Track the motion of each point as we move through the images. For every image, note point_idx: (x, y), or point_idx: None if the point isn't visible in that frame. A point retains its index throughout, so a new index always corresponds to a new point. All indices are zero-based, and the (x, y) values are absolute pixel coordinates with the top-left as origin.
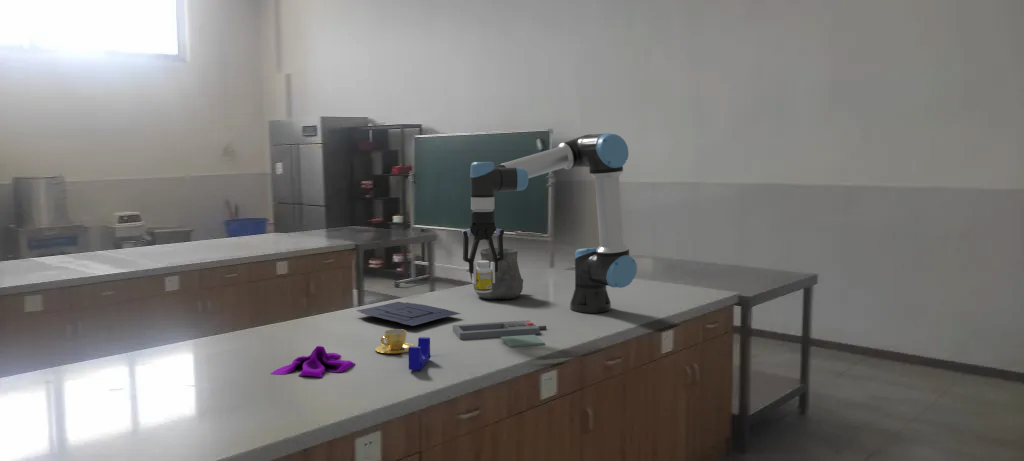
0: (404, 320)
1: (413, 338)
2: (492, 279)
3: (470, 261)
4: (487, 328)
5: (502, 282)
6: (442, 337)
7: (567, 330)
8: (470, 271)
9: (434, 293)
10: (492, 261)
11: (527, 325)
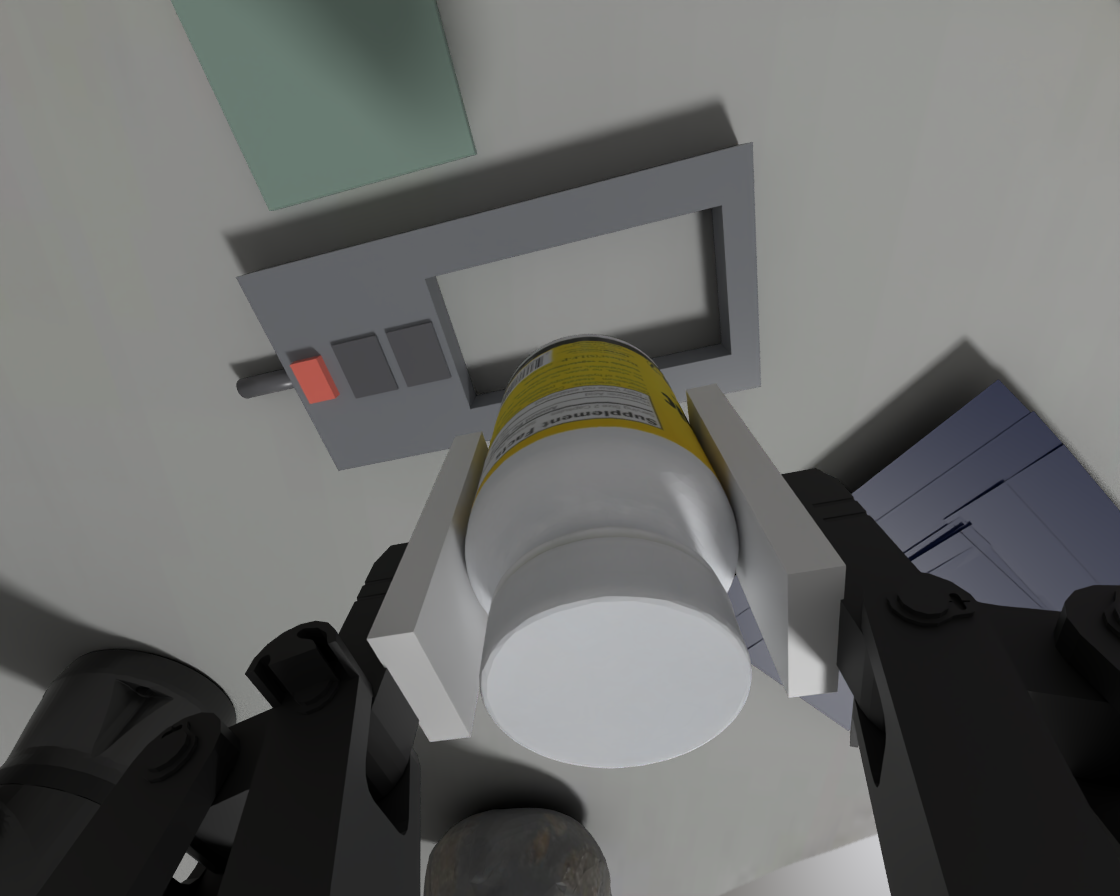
0: (1013, 482)
1: (1021, 201)
2: (477, 460)
3: (974, 602)
4: None
5: (495, 881)
6: (836, 219)
7: (127, 354)
8: (831, 486)
9: (731, 884)
10: None
11: (324, 349)
